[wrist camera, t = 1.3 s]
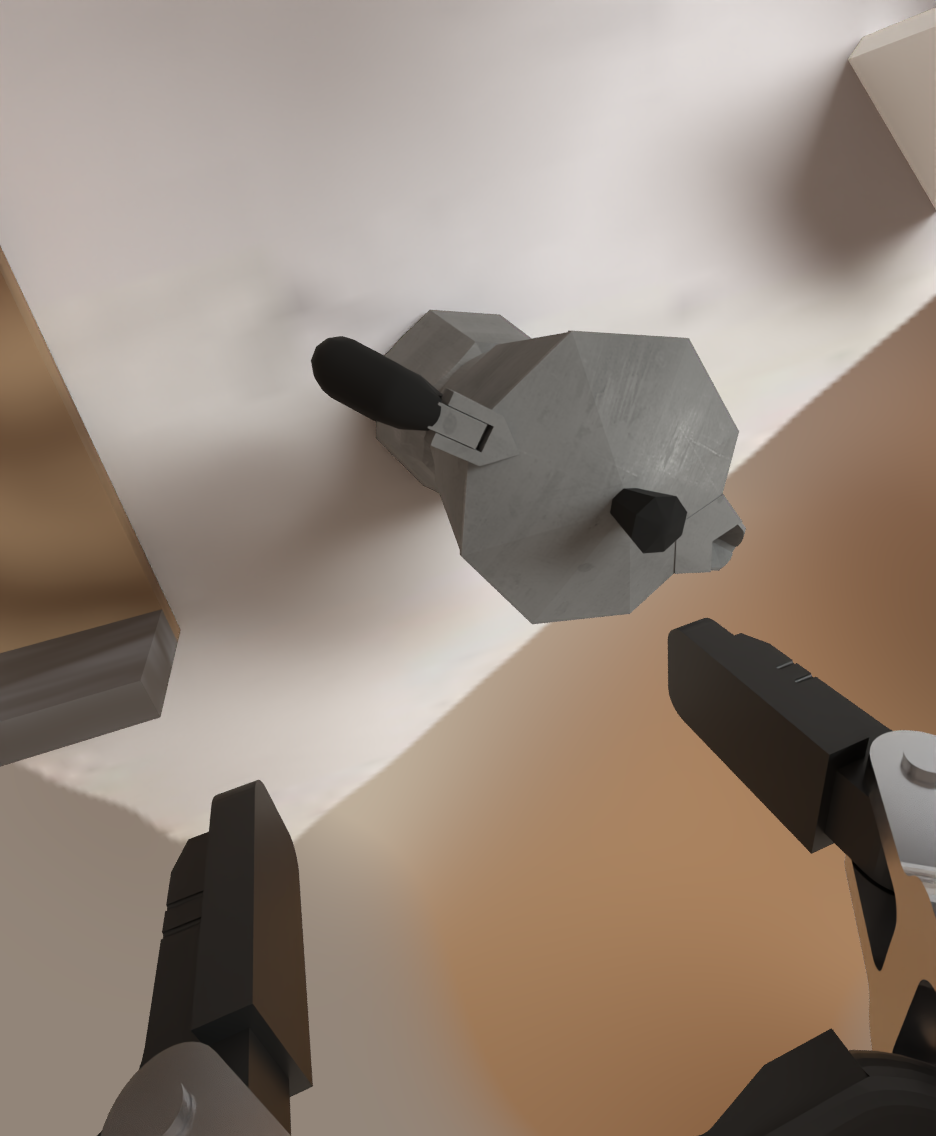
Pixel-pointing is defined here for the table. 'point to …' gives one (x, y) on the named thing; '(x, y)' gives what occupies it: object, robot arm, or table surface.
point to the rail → (66, 566)
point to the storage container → (905, 88)
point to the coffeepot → (554, 454)
